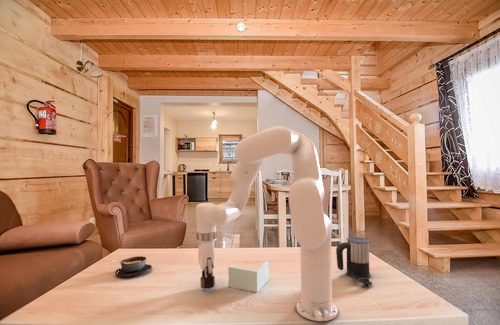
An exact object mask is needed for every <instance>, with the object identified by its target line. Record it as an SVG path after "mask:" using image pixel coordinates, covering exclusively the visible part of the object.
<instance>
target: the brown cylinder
mask: <svg viewBox="0 0 500 325" xmlns="http://www.w3.org/2000/svg"><path fill="white" fill-rule="evenodd" d="M204 277H205V275H204V276H202V275H201V277H199V280H200V282H199V283H200V288H201V289H204V290H205V289H206V290H208V289H210V288H205V280H204ZM213 283H214V287H216V277H215V275H213Z"/></svg>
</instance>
